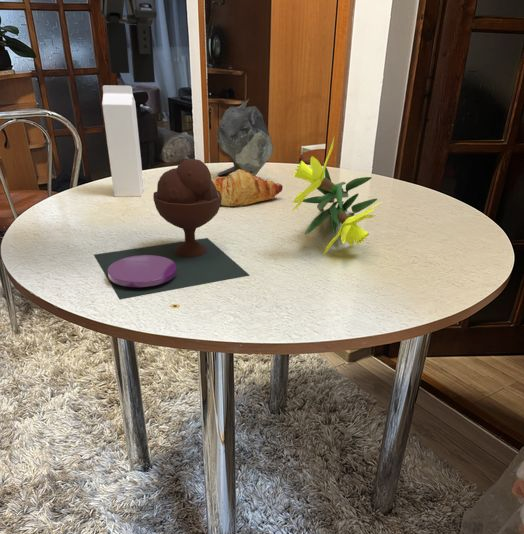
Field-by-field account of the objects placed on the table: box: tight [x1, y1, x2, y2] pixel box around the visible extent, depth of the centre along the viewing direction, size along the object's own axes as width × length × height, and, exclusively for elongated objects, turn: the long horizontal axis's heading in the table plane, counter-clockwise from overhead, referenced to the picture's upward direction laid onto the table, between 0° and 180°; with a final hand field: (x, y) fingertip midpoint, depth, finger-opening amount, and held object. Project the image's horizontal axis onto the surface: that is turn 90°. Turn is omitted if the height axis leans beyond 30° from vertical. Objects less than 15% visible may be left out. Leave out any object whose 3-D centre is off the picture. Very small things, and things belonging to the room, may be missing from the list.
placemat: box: [93, 237, 251, 300], centre depth 81 cm, size 18×20×1 cm
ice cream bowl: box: [152, 158, 222, 257], centre depth 82 cm, size 11×11×15 cm
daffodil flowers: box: [289, 135, 381, 257], centre depth 91 cm, size 17×15×35 cm
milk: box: [101, 84, 145, 198], centre depth 111 cm, size 6×6×22 cm
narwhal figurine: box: [216, 98, 275, 177], centre depth 124 cm, size 14×15×18 cm
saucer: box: [108, 255, 177, 287], centre depth 76 cm, size 10×10×2 cm
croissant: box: [212, 169, 283, 207], centre depth 112 cm, size 21×10×8 cm, turn 106°
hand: (131, 77), depth 74 cm, fingers open, 13 cm apart
